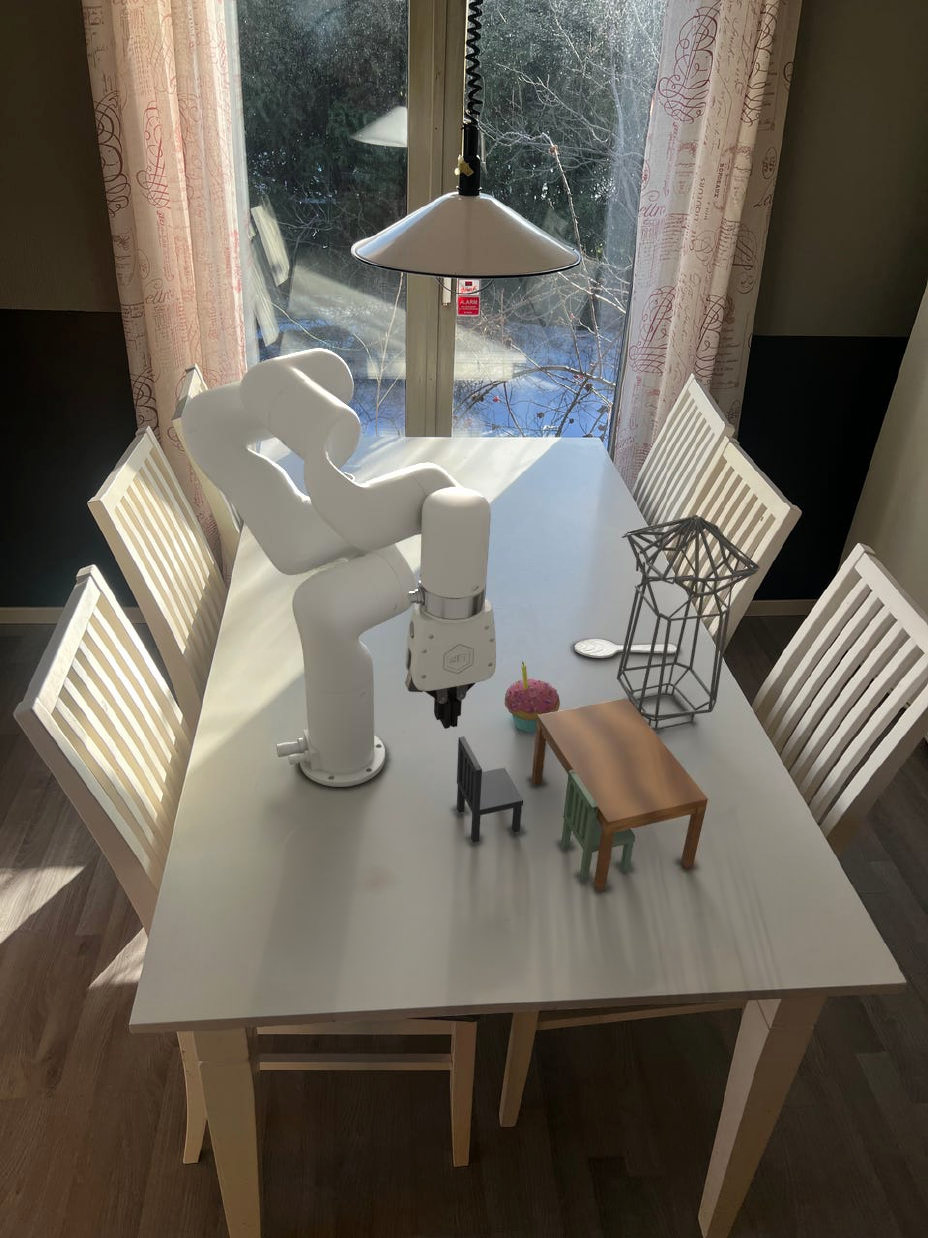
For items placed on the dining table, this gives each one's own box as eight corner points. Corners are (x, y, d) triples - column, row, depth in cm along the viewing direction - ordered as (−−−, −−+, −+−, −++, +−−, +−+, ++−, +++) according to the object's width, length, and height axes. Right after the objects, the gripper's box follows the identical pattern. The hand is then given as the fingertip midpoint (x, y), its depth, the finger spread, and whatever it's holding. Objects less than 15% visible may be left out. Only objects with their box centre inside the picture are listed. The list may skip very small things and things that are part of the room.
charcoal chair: (472, 843, 132) (476, 770, 126) (455, 808, 138) (458, 737, 131) (520, 832, 135) (527, 760, 128) (502, 798, 140) (507, 727, 133)
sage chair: (581, 881, 127) (592, 807, 121) (559, 843, 133) (568, 770, 126) (630, 868, 130) (643, 795, 123) (606, 832, 135) (617, 760, 128)
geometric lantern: (683, 679, 166) (719, 489, 148) (728, 737, 154) (773, 537, 135) (596, 691, 163) (622, 497, 144) (634, 752, 150) (668, 548, 131)
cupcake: (512, 743, 151) (517, 679, 144) (495, 710, 158) (500, 647, 151) (565, 735, 153) (572, 672, 146) (546, 702, 160) (552, 641, 153)
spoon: (679, 658, 172) (680, 655, 171) (576, 657, 171) (577, 655, 170) (673, 641, 176) (673, 638, 176) (572, 640, 175) (573, 638, 175)
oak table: (597, 891, 126) (607, 822, 120) (531, 780, 144) (537, 715, 137) (693, 866, 131) (708, 798, 124) (617, 761, 148) (627, 697, 142)
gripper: (399, 622, 107) (397, 751, 117) (525, 602, 112) (514, 728, 122) (380, 587, 113) (380, 713, 123) (501, 570, 118) (492, 693, 128)
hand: (447, 720), depth 123 cm, fingers closed
